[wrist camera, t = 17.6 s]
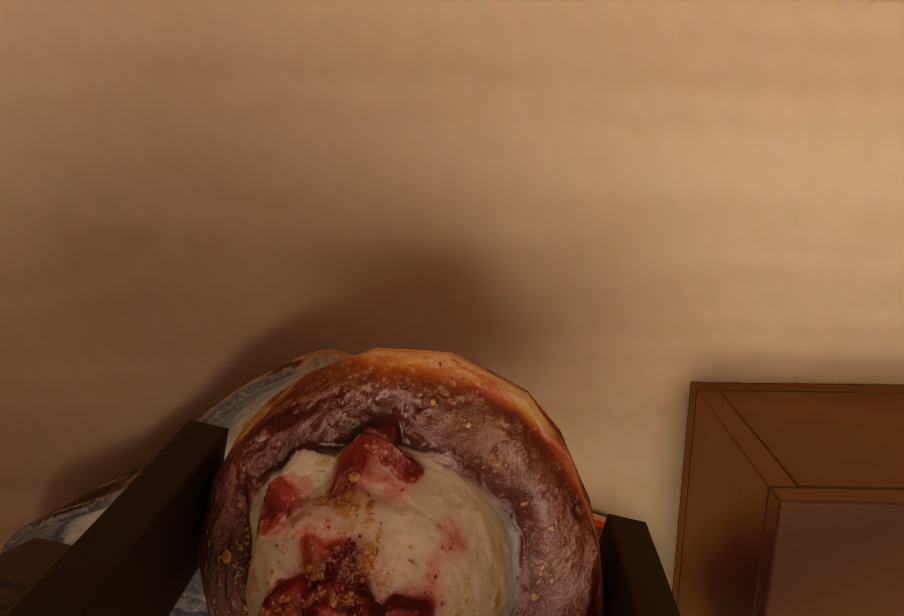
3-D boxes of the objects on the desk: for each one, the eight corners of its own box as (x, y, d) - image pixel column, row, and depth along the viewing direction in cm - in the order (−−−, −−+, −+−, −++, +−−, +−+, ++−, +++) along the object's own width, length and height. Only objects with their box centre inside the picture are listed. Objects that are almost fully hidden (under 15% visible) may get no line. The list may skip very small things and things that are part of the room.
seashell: (80, 248, 27) (-6, 280, 22) (419, 325, 28) (405, 372, 23) (48, 602, 31) (-31, 693, 27) (343, 666, 32) (318, 767, 27)
